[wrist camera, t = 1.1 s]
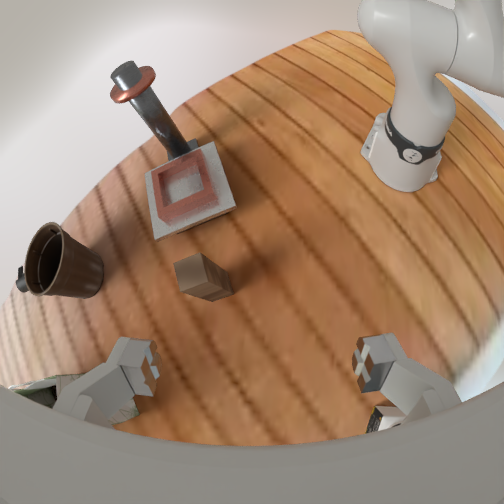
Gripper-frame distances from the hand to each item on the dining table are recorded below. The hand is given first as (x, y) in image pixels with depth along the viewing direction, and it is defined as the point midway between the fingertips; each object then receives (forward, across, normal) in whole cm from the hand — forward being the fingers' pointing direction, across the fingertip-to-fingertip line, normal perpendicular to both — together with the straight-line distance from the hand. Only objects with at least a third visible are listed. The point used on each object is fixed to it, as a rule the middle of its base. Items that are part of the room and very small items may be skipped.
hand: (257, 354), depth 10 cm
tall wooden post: (+37, +7, +20) cm, 42 cm away
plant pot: (+44, +42, +22) cm, 64 cm away
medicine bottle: (+14, -24, +38) cm, 47 cm away
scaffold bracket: (+53, +14, +3) cm, 55 cm away
